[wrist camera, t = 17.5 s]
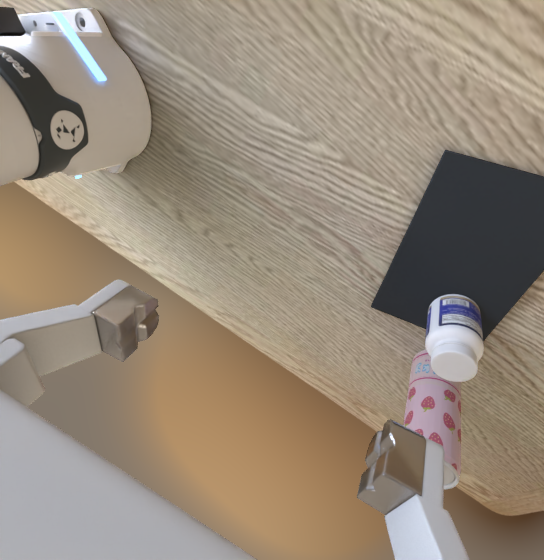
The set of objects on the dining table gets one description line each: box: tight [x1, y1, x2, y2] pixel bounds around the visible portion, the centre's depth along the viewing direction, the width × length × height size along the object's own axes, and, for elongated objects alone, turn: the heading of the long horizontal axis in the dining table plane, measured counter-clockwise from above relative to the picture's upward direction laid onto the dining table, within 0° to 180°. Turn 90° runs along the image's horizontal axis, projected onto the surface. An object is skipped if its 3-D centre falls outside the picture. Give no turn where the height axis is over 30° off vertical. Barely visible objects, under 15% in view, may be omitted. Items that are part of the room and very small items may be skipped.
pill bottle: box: [425, 294, 484, 382], centre depth 35 cm, size 5×5×9 cm
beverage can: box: [403, 350, 461, 489], centre depth 38 cm, size 6×6×15 cm
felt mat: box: [371, 150, 544, 341], centre depth 35 cm, size 13×20×1 cm, turn 171°
